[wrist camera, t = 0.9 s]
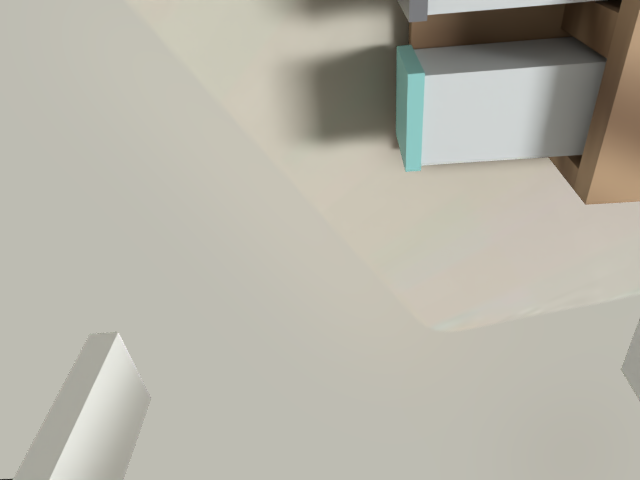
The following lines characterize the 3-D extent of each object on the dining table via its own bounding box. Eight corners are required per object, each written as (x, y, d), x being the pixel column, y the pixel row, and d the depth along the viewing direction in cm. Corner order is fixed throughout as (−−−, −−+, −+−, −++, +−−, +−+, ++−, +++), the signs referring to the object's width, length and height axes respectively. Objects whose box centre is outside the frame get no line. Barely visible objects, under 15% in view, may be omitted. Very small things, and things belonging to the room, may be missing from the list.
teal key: (396, 45, 27) (407, 74, 23) (637, 26, 26) (690, 52, 23) (395, 133, 30) (405, 171, 26) (611, 118, 29) (654, 155, 26)
